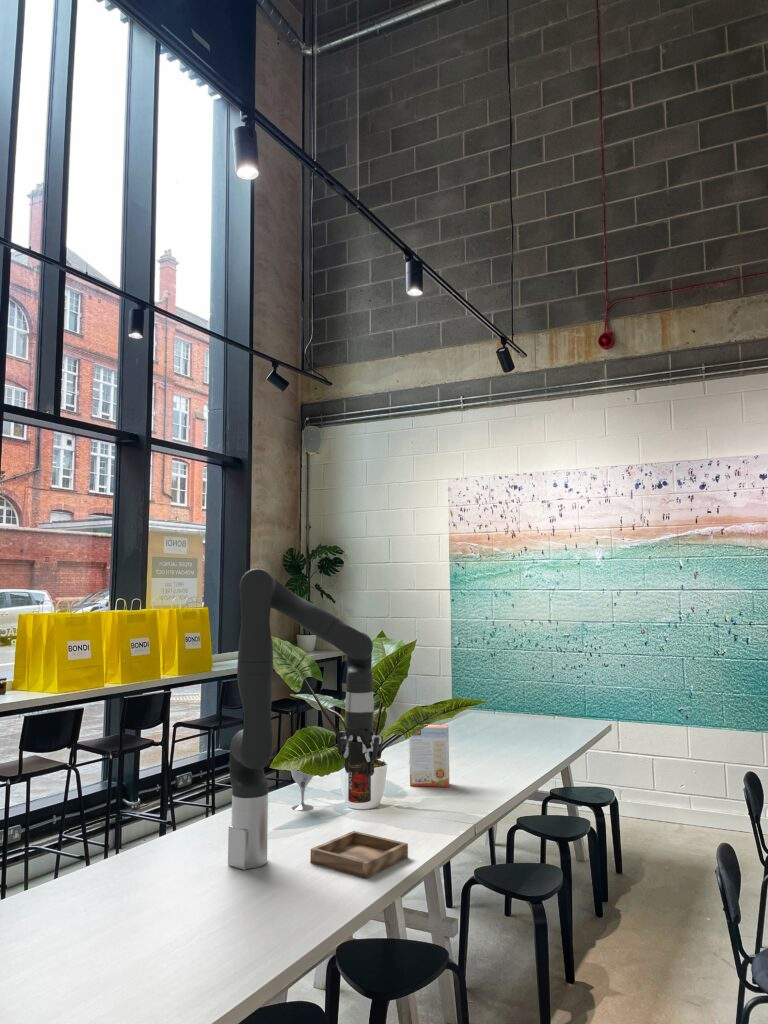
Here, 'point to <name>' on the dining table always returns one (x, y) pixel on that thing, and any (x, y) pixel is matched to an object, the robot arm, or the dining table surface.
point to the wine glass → (302, 788)
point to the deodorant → (358, 774)
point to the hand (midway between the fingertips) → (359, 773)
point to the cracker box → (430, 756)
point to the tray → (359, 854)
